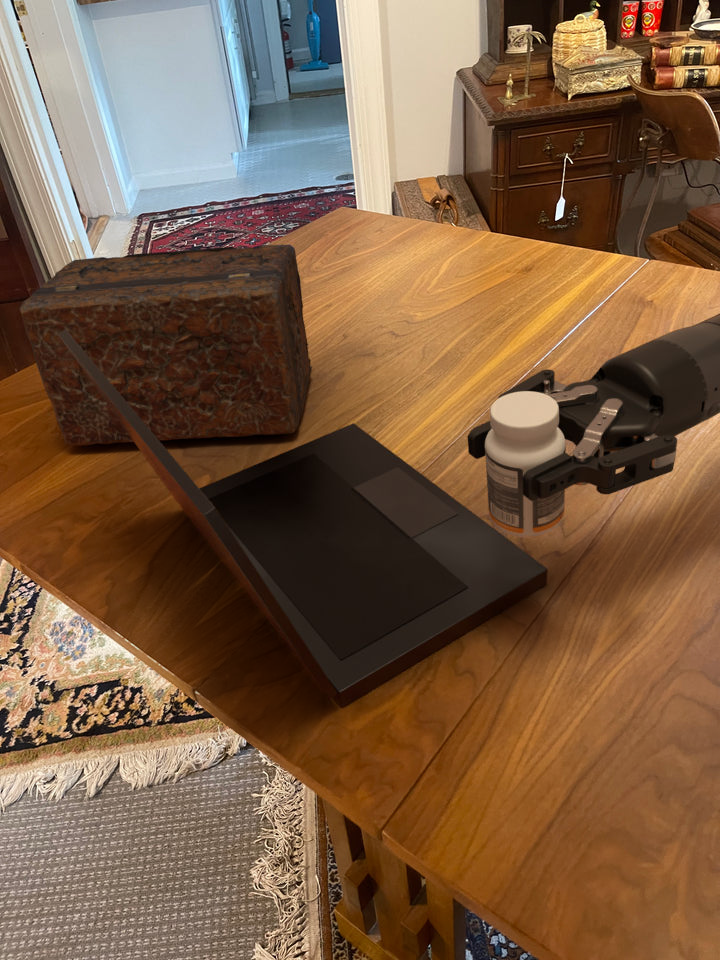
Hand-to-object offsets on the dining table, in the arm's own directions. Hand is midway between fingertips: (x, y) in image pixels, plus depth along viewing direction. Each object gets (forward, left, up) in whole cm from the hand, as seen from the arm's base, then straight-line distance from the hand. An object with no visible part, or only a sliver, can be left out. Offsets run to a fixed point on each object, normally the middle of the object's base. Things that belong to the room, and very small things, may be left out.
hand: (498, 466), depth 52 cm
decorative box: (+38, -36, -17) cm, 55 cm away
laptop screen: (+24, -2, -5) cm, 25 cm away
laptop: (+14, -11, -17) cm, 25 cm away
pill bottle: (-2, -2, -6) cm, 7 cm away
